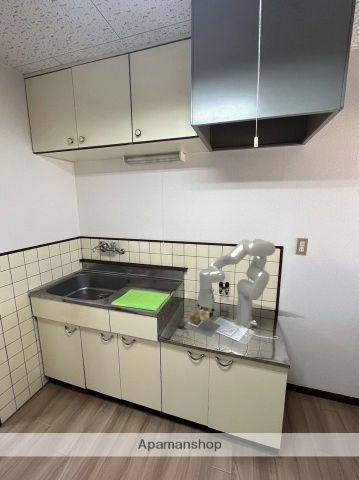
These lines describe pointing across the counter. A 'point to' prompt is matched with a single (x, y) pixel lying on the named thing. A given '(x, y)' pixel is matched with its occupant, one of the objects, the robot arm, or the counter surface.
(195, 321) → the walnut block
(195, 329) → the build board
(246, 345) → the counter surface
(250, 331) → the counter surface
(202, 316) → the maple block
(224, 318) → the counter surface
